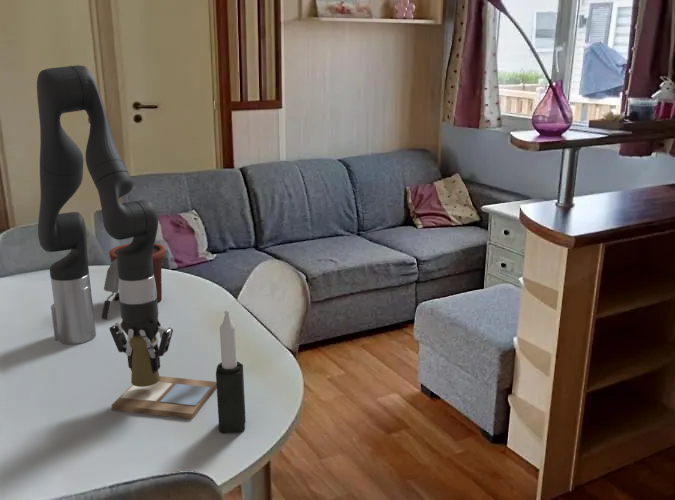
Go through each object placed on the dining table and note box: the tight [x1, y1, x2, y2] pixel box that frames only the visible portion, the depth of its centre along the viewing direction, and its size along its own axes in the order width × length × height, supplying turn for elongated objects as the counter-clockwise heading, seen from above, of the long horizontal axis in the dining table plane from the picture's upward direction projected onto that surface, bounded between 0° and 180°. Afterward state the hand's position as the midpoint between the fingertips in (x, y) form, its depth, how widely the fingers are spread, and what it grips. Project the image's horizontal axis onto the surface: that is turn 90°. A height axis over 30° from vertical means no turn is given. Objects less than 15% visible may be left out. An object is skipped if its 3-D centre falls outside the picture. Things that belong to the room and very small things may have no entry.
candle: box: [215, 309, 247, 434], centre depth 133 cm, size 5×5×25 cm
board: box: [111, 375, 217, 420], centre depth 148 cm, size 18×14×1 cm
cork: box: [130, 335, 161, 387], centre depth 146 cm, size 6×6×11 cm
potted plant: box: [101, 242, 166, 320], centre depth 198 cm, size 18×22×25 cm
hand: (144, 370), depth 147 cm, fingers closed on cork, 4 cm apart
